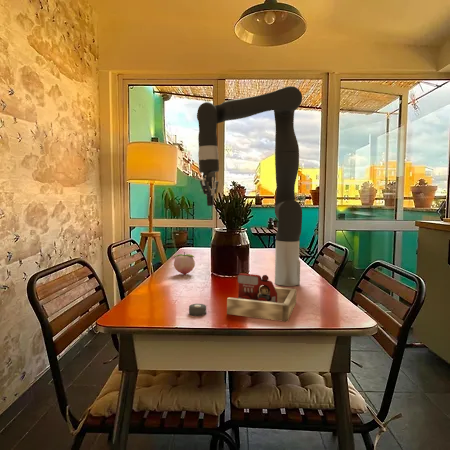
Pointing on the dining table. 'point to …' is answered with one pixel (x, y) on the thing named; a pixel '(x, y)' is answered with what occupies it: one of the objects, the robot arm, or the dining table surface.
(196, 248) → the dining table surface
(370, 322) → the dining table surface
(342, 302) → the dining table surface
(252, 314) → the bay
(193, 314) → the spare wheel
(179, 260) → the decorative fruit
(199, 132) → the robot arm
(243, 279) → the toy fire truck
